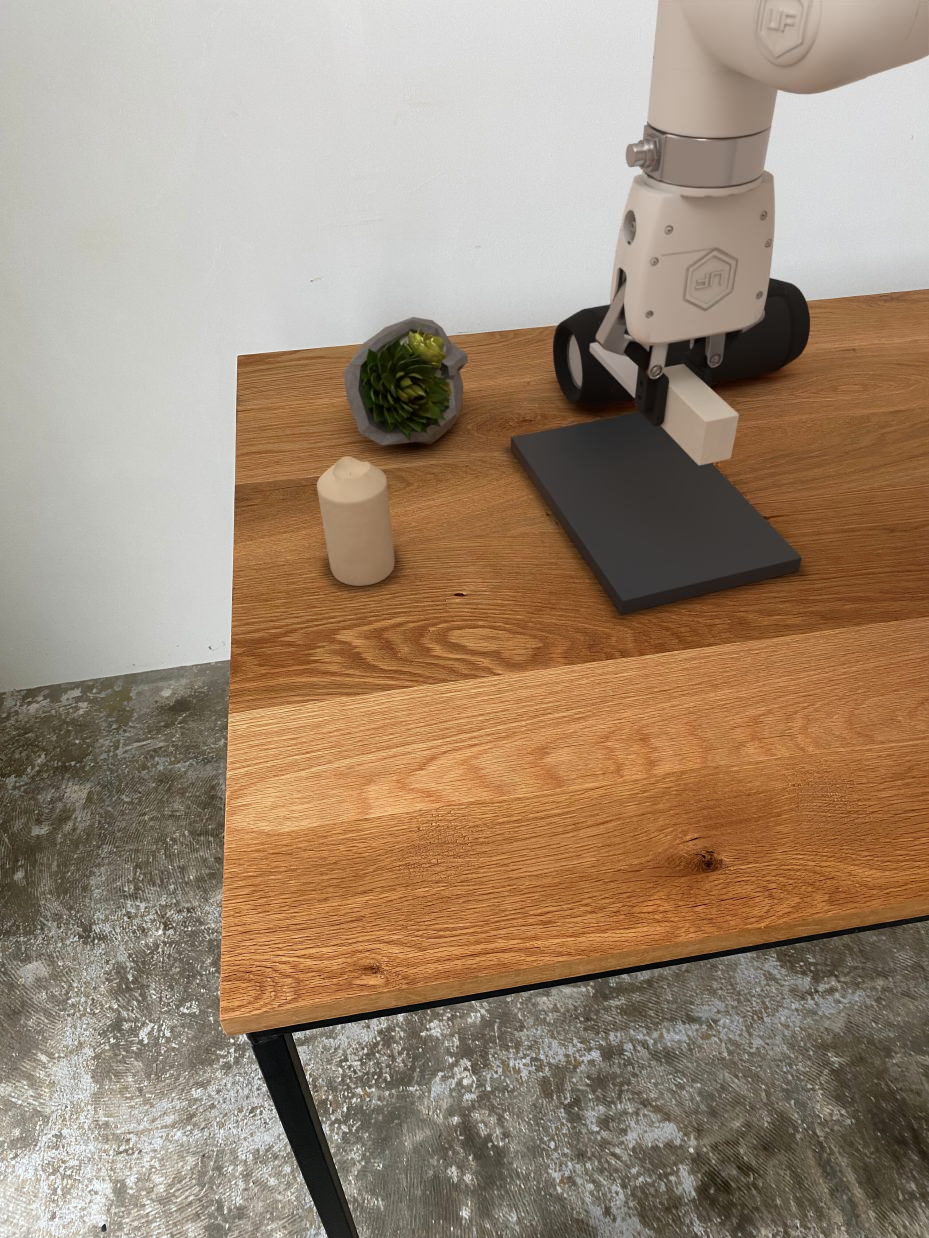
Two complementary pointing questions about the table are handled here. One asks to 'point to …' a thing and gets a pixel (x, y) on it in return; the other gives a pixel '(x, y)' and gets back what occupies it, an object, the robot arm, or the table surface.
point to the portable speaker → (683, 348)
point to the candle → (356, 522)
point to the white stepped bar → (684, 408)
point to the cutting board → (650, 512)
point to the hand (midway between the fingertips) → (669, 411)
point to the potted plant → (406, 383)
